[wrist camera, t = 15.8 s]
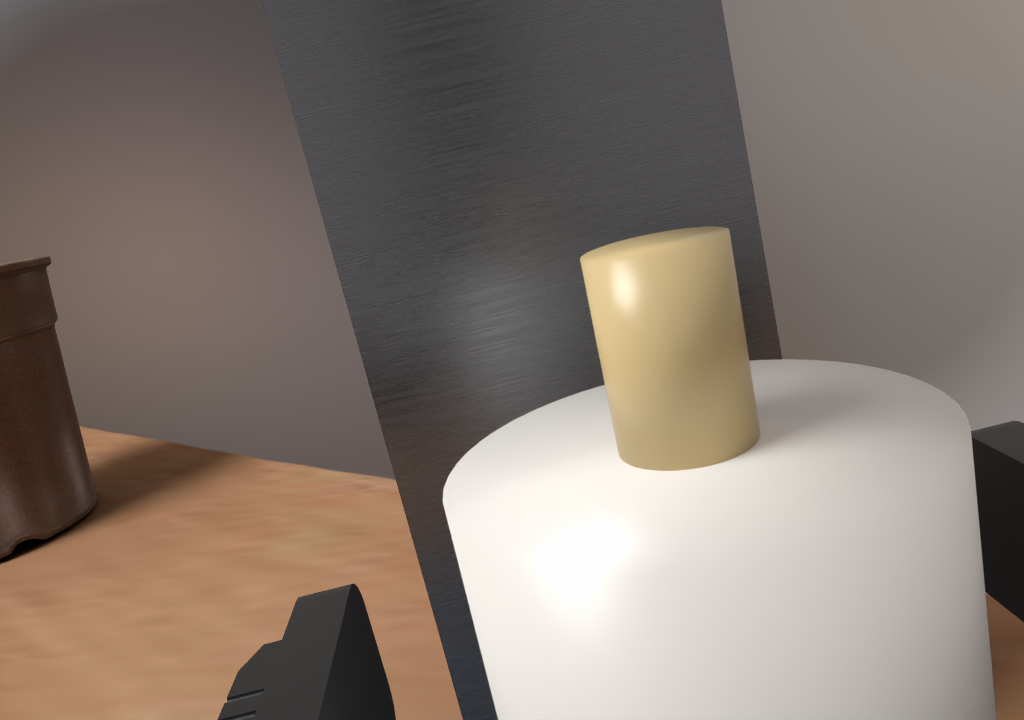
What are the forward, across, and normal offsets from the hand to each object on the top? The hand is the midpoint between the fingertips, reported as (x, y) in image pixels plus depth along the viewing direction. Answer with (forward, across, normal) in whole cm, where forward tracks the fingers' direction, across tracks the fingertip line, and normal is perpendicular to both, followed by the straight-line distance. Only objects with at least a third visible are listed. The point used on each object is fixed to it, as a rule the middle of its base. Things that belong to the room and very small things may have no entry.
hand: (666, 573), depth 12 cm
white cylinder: (-2, 0, +7) cm, 8 cm away
